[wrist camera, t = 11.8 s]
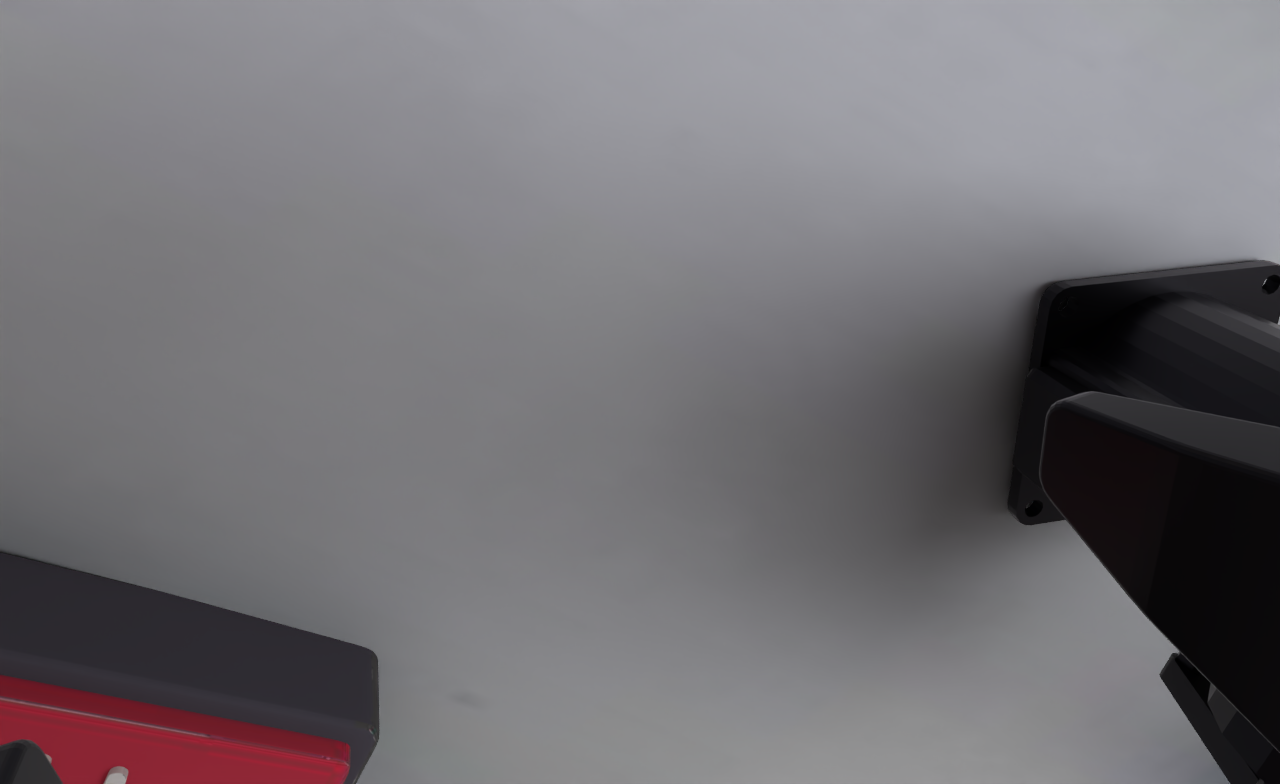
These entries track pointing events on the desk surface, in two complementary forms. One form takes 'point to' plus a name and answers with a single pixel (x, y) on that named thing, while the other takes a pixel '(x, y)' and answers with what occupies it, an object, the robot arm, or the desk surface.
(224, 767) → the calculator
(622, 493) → the desk surface
